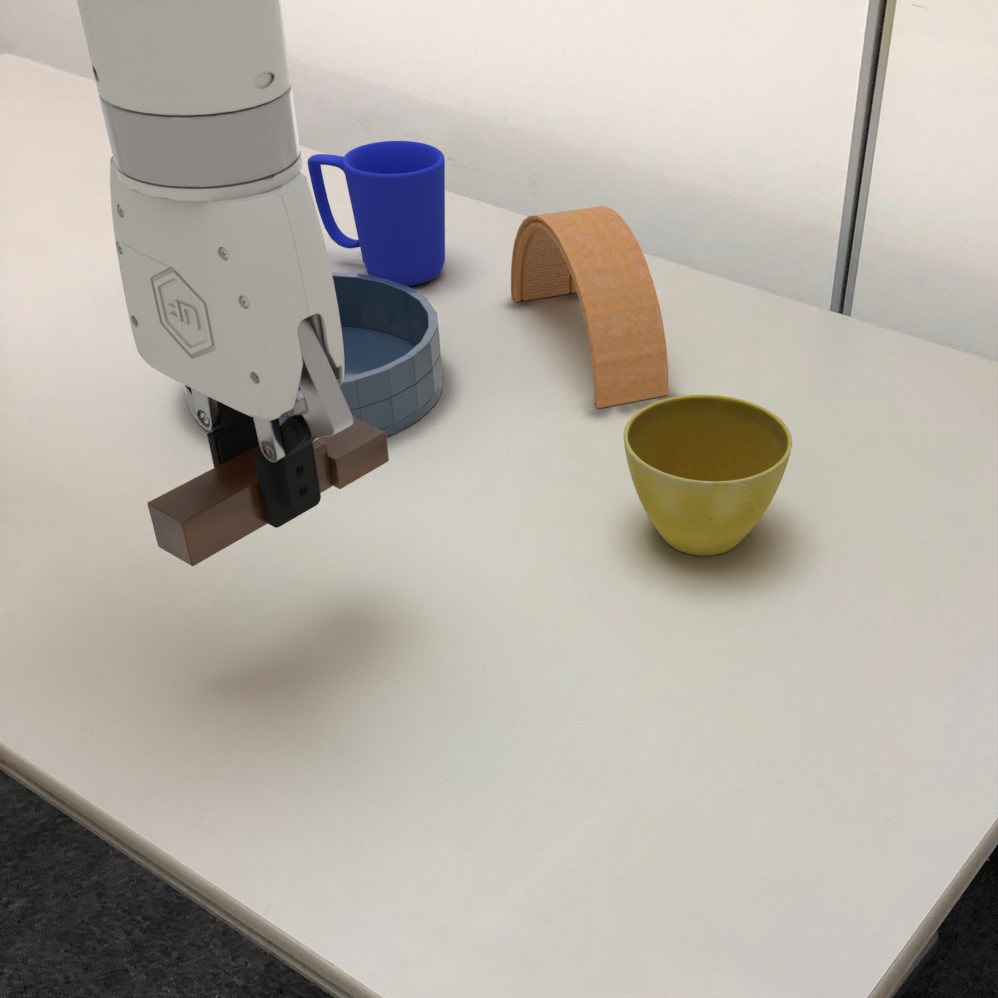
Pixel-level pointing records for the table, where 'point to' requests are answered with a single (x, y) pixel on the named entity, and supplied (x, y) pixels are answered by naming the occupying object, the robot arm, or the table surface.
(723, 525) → the flower pot
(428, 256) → the mug
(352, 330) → the bowl
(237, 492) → the stepped brown bar
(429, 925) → the table surface
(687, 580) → the table surface
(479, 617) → the table surface
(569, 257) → the arch
